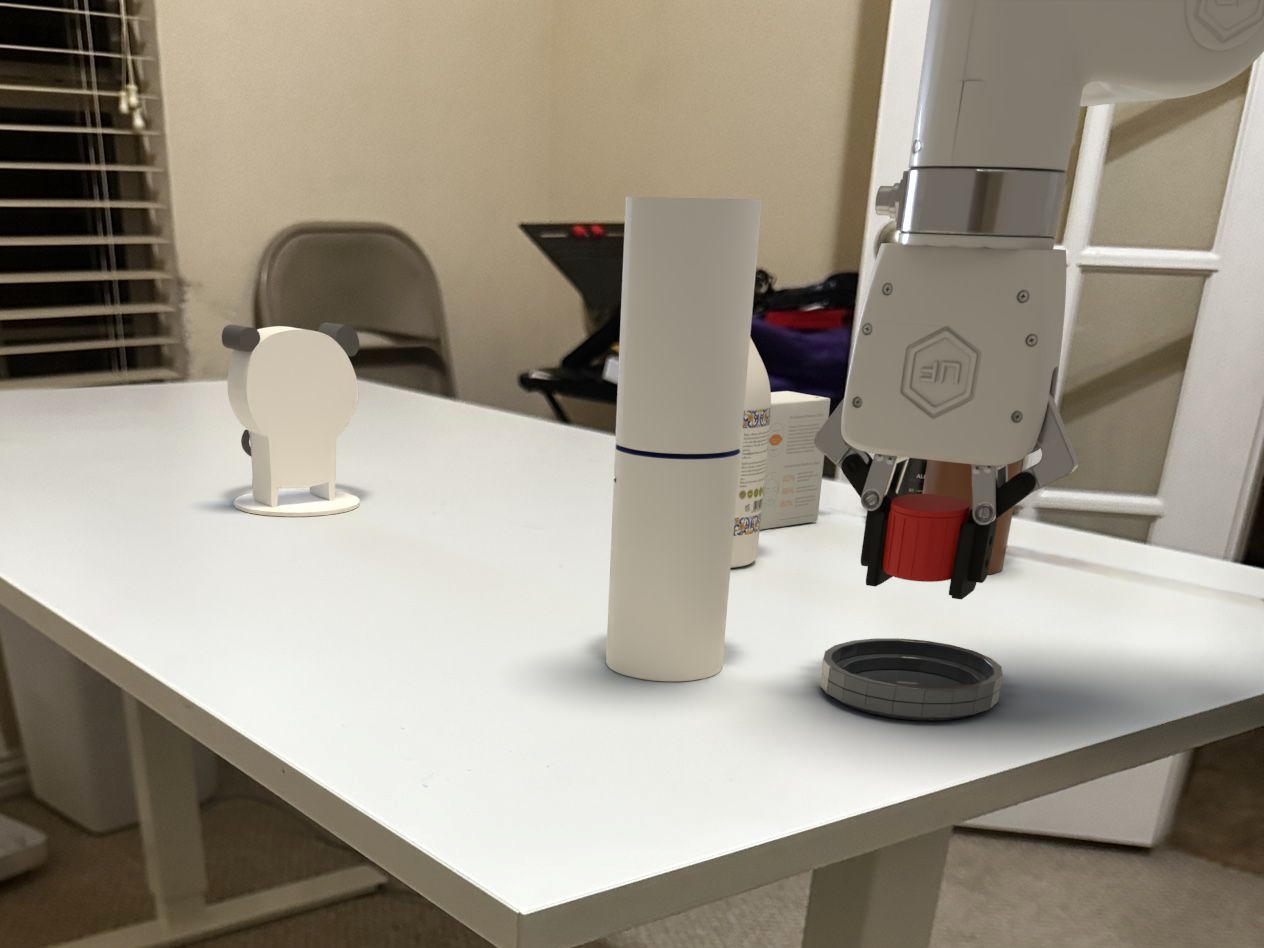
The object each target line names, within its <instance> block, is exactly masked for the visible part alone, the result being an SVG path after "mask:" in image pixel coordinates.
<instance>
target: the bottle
mask: <svg viewBox="0 0 1264 948" xmlns="http://www.w3.org/2000/svg"><path fill="white" fill-rule="evenodd" d="M1022 463H1023V459H1021V460H1019V461H1017V462H1014V463H1011V464H1008V480H1010V479H1011V478H1012V477H1013V476H1015V475H1017V474H1018V473H1020V472H1021V469H1022V465H1023V464H1022ZM922 494H936V495H945V496H951V497H956V498H959V499H962V500H965V501H966V502H968V503H969V504H970V508H969V511H970V510H971V509H972V464H964V463H955V462H945V461H936V460H927V466H926V473H925V480H924V486H923V493H922ZM1014 507H1015V506H1013V507H1012V508H1011V509H1010V510H1008V511H1007V512H1006V513H1004V514H1003V515H1002V516H1000V517H999V518H998V521H997V526H996V532H995V537H994V543H993V548H992V554H991V559H990V565H989V570H988V574H987V575H992V574H996V573H999V572H1001V571H1002V570H1003V569H1004V564H1005V559H1006V553H1007V548H1008V547H1007V546H1008V541H1009V536H1010V531H1011V524H1012V519H1013V512H1014V509H1015V508H1014Z"/></svg>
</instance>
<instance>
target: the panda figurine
mask: <svg viewBox="0 0 1264 948" xmlns="http://www.w3.org/2000/svg"><path fill="white" fill-rule="evenodd" d="M221 344H222V346H223V347H224V348H226V349H230V350H232V353H231V357H230V360H229V361H230V362H229V366H228V371H227V395H228V400H229V404H230V406H231V409H232V411H233V414H234V416H235V417H236V419H237V420H238V421H239V423H240V424H241V425H242V426H243V427H244V428H245V429H244V431H243V432H242V434H241V437H240V438H241V439H240V442H241V447H242V450H243V451H244V452H245V454H246V455H248V456H249V457H250V458H251V473H252V479H251V480H252V482H251V485H252V487H251V488H252V492H250V493H246V494H243V495H240V496H238V497H236V498H235V499H234V500H233V502H234V503H233V504H234V507H235V508H236V509H237V510H239V511H242V512H245V513H249V514H254V515H262V516H269V517H270V516H272V517H316V516H317V517H319V516H329V515H335V514H341V513H346V512H350V511H353V510H355V509H357V508H359V507H360V505H361V500H360V498H359V497H358V496H356V495H354V494H350V493H348V492H343V491H337V490H336V480H337V479H336V478H337V475H336V474H337V473H336V472H337V445H338V444H337V441H338V437H339V436H340V435H341V434H342V433H343V432H344V431H345V429H346V428H347V427H348V426H349V424H350V423H351V421H352V419H353V417H354V414H355V412H356V410H357V406H358V402H359V397H360V395H359V393H360V392H359V383H358V378H357V375H356V371H355V369H354V366H353V364H352V362H351V360H350V358H349V357H354V356H356V355H357V353H358V352H359V349H360V339H359V336H358V333H357V331H356V330H355V329H354V328H353V327H352V326H349V325H348V324H340V323H335V322H334V323H333V322H328V321H327V322H323V323H321V324H320V326H319V327H318V329H317V331H316V330H311V329H306V328H297V327H293V326H283V325H278V326H267V327H262V328H261V327H260V328H257V329H256V328H255V327H249V326H244V325H238V324H227V325H225V326H224V327H223V329H222V332H221ZM279 488H281V489H279Z"/></svg>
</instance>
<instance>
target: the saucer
mask: <svg viewBox="0 0 1264 948" xmlns="http://www.w3.org/2000/svg"><path fill="white" fill-rule="evenodd" d="M1003 677H1004V673H1003V667H1002V666H1001V665H1000V664H999V663H998V662H996V660H994V659H993V658H991V657H989V656H987V655H985V654H982V653H980V652H977V651H974V650H972V649H968V648H964V647H962V646H958V645H954V644H950V643H949V644H948V643H942V642H938V641H937V642H936V641H929V640H924V639H923V640H922V639H912V638H896V637H895V638H889V637H888V638H879V637H878V638H876V637H875V638H864V639H856V640H849V641H846V642H842V643H837V644H835V645H832V646H831V647H829V648H828V649H826V650H825V651H824V654H823V657H822V666H821V672H820V680H819V685H820V687H821V688H822V690H823V692H825V694H827V695H829V696H830V697H832V698H834V699H836V700H838V701H839V702H840V703H841V704H844V705H846V706H848V707H850V708H853V709H854V710H858V711H861V712H864V713H868V714H872V715H875V716H880V717H886V718H890V719H891V718H893V719H897V720H898V719H899V720H907V721H948V720H956V719H961V718H966V717H969V716H972V715H976V714H979V713H981V712H985V711H988V710H990V709H992V708H993V707H994V706H995V705H996V704H997V703H998V702H999V698H1000V693H1001V687H1002V684H1003V683H1002V682H1003Z"/></svg>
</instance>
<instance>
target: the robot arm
mask: <svg viewBox="0 0 1264 948" xmlns="http://www.w3.org/2000/svg"><path fill="white" fill-rule="evenodd" d="M927 18H928V19H927V27H926V33H925V41H924V49H923V55H922V63H921V70H920V79H919V87H918V93H917V101H916V109H915V116H914V123H913V130H912V139H911V146H910V151H909V153H910V154H909V160H908V167H907V168H909V169H908V170H903V172H902V179H900V181H899V182H895V183H894V184H893V185H880V186H879V187H878V189H877V192H876V196H875V203H874V206H875V207H874V208H875V215H877V216H888V217H889V219H893V220H894V219H895V220H894V221H895V223H896V225H895V230H896V231H899V232H898V239H897V240H898V241H897V243H895V242H894V243H892V242H889V243H887V242H884V243H883V242H882V243H880V247H879V249H878V252H877V255H876V257H875V261H874V264H873V267H872V270H871V274H870V277H869V281H868V285H867V289H866V292H865V296H864V301H863V305H862V308H861V313H860V317H859V321H858V326H857V330H856V335H855V339H854V344H853V348H852V349H853V350H852V354H851V358H850V359H851V360H850V363H849V368H848V369H849V370H848V374H847V379H846V384H845V385H846V386H845V391H844V397H843V398H842V400H841V401H840V402H839V404H838V405H837V406H836V407H835V409H834V410H833V411H832V413H831V414H830V415H829V418H828V420H827V421H826V422H825V423H824V425H823V426H822V427H821V429H820V430H819V431H818V433H817V434H816V436H815V439H814V442H815V445H816V447H817V448H818V449H819V450H820V451H821V452H822V453H823V454H824V457H826V458H827V459H829V461H831V462H832V463H833V464H834V465H835V466H837V467H838V468H839V469H840V470H841V472H842V473H843V475H844V477H845V478H846V479H847V481H848V482H849V483H850V485H851V487H852V488H853V489H854V490H855V492H856V493H857V495H858V496H859V498H860V504H861V506H862V507H863V509H864V510H866V518H865V525H864V531H863V532H864V533H863V540H862V545H861V554H860V565H861V567H867V569H866V574H865V575H866V576H865V585H866V586H868V587H878V586H879V585H880V586H881V585H882V584H884V583H886V581H888V580H890V579H891V578H893V577H894V576H891V575H889V574H887V573H886V572H884V570H883V566H882V564H883V557H884V549H885V541H886V533H887V525H888V517H889V512H890V509H891V502H892V499H894V498H895V497H898V494H897V493H898V490H899V487H900V484H901V481H902V479H903V476H904V473H905V470H906V467H907V464H908V461H909V458H917V459H927V460H936V461H945V462H955V463H964V464H972V509H971V510H970V511H969V516H968V521H967V522H966V523H964V524H962V525H961V527H960V529H959V535H958V541H957V546H956V552H955V558H954V564H953V570H952V576H951V579H950V583H949V587H948V588H949V589H948V596H950V597H951V598H952V599H955V600H964V598H966V597H967V596H968V595H970V594H971V593H973V591H975V589H976V586H977V584H982V583H984V582H985V581H986V580H987V578H988V575H989V574H988V570H989V565H990V559H991V554H992V548H993V543H994V537H995V532H996V526H997V521H998V518H999V517H1000V516H1002V515H1003V514H1004V513H1006V512H1007V511H1008V510H1010V509H1011V508H1012V507H1013V506H1014V507H1015V506H1016V505H1018V504H1019V503H1020V502H1022V501H1023V500H1025V498H1027V497H1028V496H1029V495H1031V494H1033V493H1034V492H1036V491H1038V490H1040V489H1043V488H1044V487H1046V486H1049V485H1050V484H1053V483H1054V482H1057V481H1058V480H1061V479H1064V478H1065V477H1066V476H1068V475H1070V474H1072V473H1074V471H1076V470H1077V468H1078V467H1079V464H1080V459H1079V456H1078V454H1077V451H1076V449H1075V447H1074V444H1073V442H1072V439H1071V436H1070V435H1069V432H1068V430H1067V428H1066V425H1065V423H1064V420H1063V418H1062V416H1061V413H1060V410H1059V408H1058V406H1057V404H1056V396H1057V387H1058V379H1059V372H1060V364H1061V355H1062V347H1063V346H1062V345H1063V336H1064V325H1065V316H1066V315H1065V314H1066V300H1067V299H1066V298H1067V297H1066V295H1067V250H1066V249H1062V248H1061V249H1060V248H1055V247H1054V246H1055V242H1056V236H1057V231H1058V226H1059V225H1058V224H1059V221H1060V215H1061V209H1062V203H1063V198H1064V194H1065V187H1066V181H1067V176H1068V174H1067V172H1068V169H1069V162H1070V159H1071V154H1072V148H1073V144H1074V143H1073V142H1074V137H1075V131H1076V127H1077V121H1078V115H1079V110H1080V107H1096V106H1103V105H1112V104H1113V105H1114V104H1122V103H1123V104H1124V103H1133V102H1134V103H1144V102H1153V101H1164V100H1174V99H1180V98H1186V97H1192V96H1195V95H1198V94H1202V93H1206V92H1208V91H1211V90H1213V89H1216V88H1218V87H1221V86H1222V85H1224V84H1226V83H1228V82H1229V81H1231V80H1233V79H1234V78H1236V77H1238V76H1239V75H1240V74H1241V73H1243V72H1244V71H1246V70H1247V69H1248V68H1249V67H1251V65H1252V64H1253V63H1254V62H1256V61H1257V60H1258V59H1259V58H1260V57H1261V56H1262V54H1263V53H1264V0H930V4H929V11H928V17H927ZM1039 450H1040V451H1041V458H1040V460H1039V461H1038V462H1037V463H1036V464H1035V463H1034V465H1031V466H1029V467H1027V468H1025V469H1023V470H1022V471H1020V473H1018V474H1017V475H1015V476H1013V477H1012V478H1011V479H1010V480H1008V464H1011V463H1014V462H1017V461H1019V460H1021V459H1022V460H1023V459H1024V458H1025V457H1026V456H1028V455H1031V454H1033V453H1035V452H1037V451H1039ZM870 454H874V455H873V457H872V456H871V455H870Z"/></svg>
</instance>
